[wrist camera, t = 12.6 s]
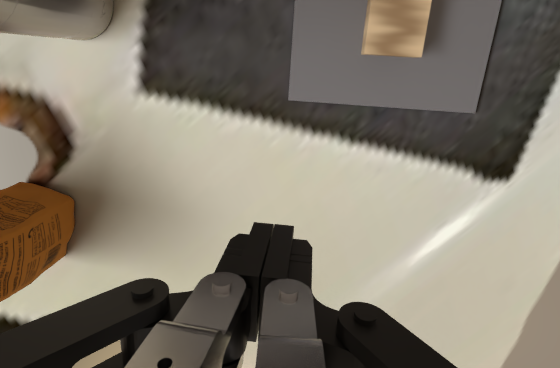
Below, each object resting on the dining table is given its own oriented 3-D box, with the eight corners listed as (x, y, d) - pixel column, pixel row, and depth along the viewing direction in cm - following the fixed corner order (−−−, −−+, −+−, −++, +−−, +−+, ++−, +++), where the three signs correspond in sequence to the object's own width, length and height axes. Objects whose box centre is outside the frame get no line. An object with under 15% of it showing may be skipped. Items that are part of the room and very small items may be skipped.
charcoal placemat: (288, 99, 44) (288, 100, 43) (301, -96, 37) (301, -98, 37) (473, 112, 42) (475, 113, 42) (520, -89, 36) (523, -91, 35)
